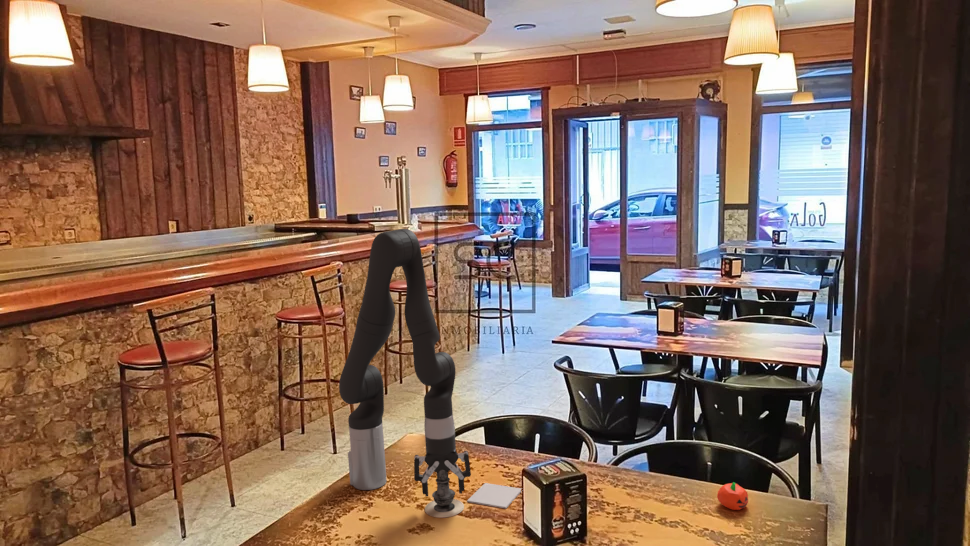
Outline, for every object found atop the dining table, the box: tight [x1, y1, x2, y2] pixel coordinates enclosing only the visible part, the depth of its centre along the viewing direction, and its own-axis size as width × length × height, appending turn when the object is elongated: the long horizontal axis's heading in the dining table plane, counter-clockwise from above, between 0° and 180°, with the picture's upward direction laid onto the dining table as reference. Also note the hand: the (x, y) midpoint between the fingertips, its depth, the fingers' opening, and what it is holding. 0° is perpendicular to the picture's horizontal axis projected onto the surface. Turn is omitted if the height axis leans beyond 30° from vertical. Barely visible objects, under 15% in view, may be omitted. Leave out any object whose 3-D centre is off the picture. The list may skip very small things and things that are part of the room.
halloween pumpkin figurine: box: [716, 481, 749, 511], centre depth 165 cm, size 7×8×6 cm
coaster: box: [424, 498, 465, 519], centre depth 172 cm, size 10×10×1 cm
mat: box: [466, 482, 522, 509], centre depth 177 cm, size 11×11×1 cm
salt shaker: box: [431, 470, 456, 512], centre depth 171 cm, size 6×6×12 cm
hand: (443, 493), depth 171 cm, fingers open, 8 cm apart
